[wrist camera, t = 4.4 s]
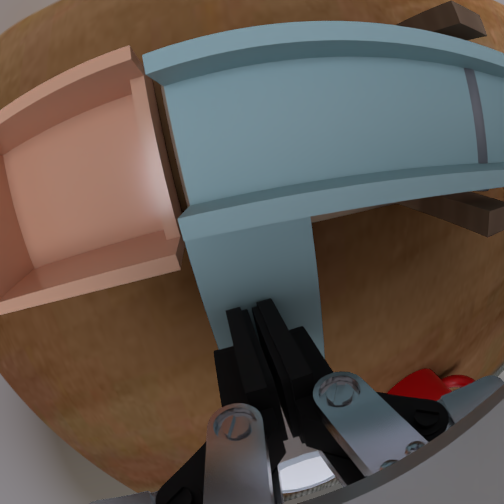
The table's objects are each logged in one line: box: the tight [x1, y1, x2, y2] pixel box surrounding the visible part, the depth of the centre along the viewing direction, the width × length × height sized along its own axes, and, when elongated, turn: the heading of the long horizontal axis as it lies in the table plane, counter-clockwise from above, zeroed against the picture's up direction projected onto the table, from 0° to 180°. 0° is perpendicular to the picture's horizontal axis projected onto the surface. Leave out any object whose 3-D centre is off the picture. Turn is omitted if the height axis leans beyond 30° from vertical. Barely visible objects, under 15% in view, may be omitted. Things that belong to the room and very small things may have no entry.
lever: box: [142, 21, 504, 359], centre depth 8 cm, size 22×13×4 cm, turn 101°
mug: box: [387, 369, 475, 401], centre depth 20 cm, size 8×12×8 cm, turn 105°
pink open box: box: [0, 45, 185, 315], centre depth 10 cm, size 10×8×5 cm
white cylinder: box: [278, 408, 335, 493], centre depth 17 cm, size 7×7×7 cm
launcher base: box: [160, 1, 504, 237], centre depth 10 cm, size 23×10×8 cm, turn 102°
